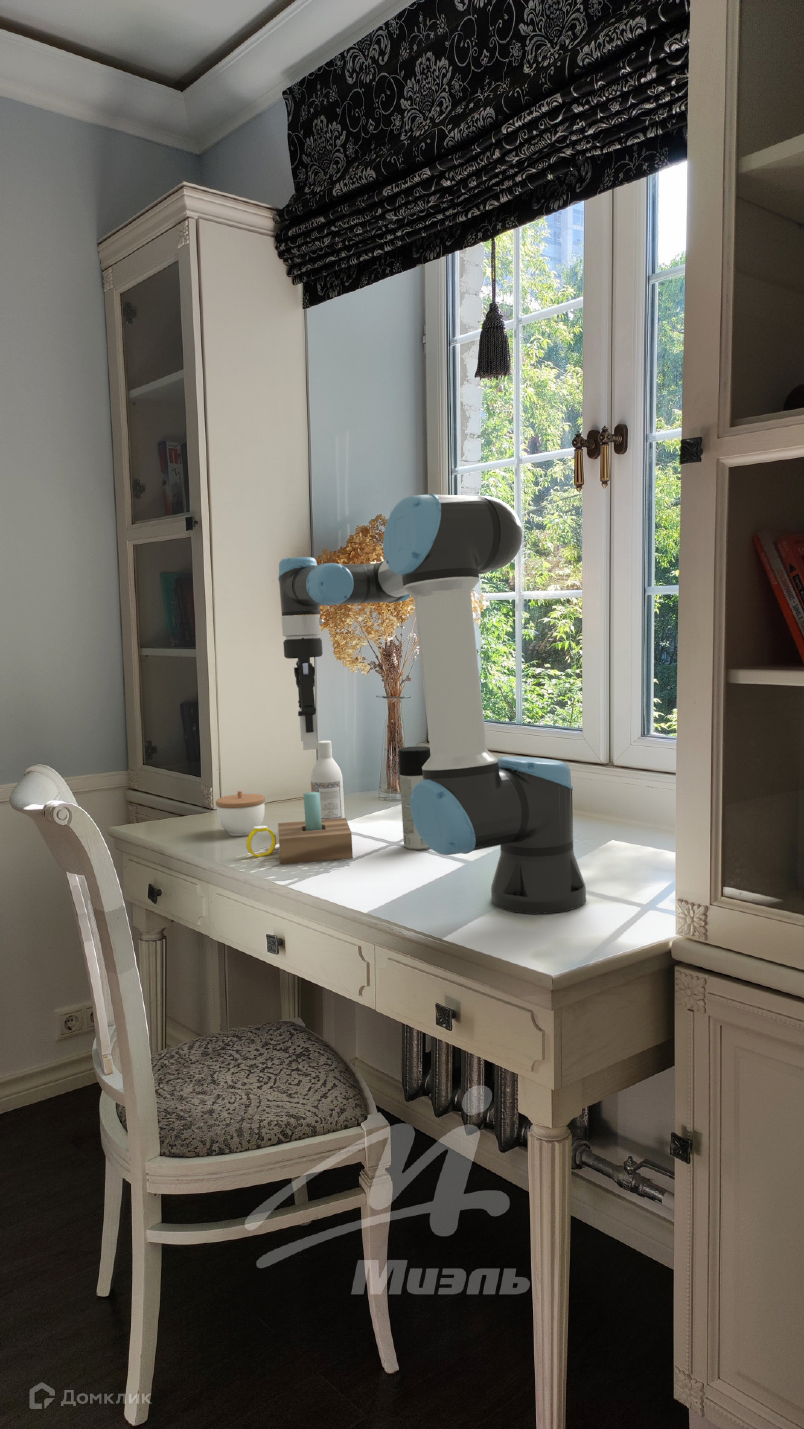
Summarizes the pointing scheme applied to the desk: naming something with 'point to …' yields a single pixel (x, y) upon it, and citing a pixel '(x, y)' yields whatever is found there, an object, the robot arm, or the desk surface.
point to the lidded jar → (240, 812)
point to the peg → (312, 811)
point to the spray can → (409, 777)
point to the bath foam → (328, 783)
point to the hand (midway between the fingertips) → (309, 745)
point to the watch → (260, 829)
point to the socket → (315, 841)
